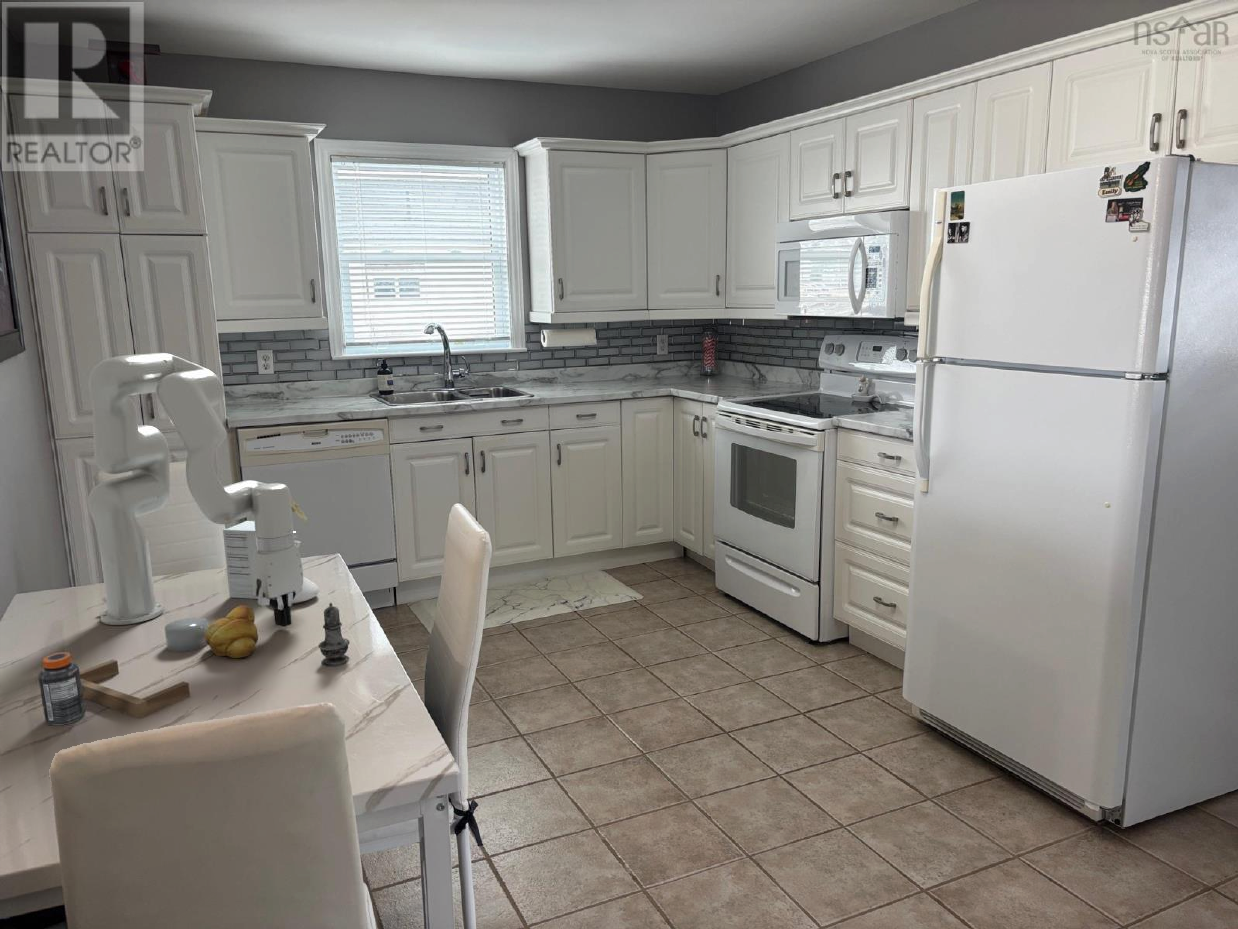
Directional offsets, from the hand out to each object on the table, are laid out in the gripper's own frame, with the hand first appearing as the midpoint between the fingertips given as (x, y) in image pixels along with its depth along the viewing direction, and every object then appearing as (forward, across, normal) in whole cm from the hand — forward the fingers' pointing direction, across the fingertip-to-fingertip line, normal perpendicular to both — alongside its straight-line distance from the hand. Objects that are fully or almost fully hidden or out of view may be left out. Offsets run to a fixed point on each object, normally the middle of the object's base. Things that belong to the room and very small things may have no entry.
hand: (283, 624), depth 192 cm
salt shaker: (+1, +7, +23) cm, 24 cm away
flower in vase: (+1, -15, -14) cm, 21 cm away
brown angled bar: (+1, +35, 0) cm, 35 cm away
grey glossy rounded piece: (+1, +15, -11) cm, 19 cm away
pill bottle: (+1, +46, 0) cm, 46 cm away
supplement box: (+1, -14, -26) cm, 30 cm away
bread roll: (+1, +13, +1) cm, 13 cm away
